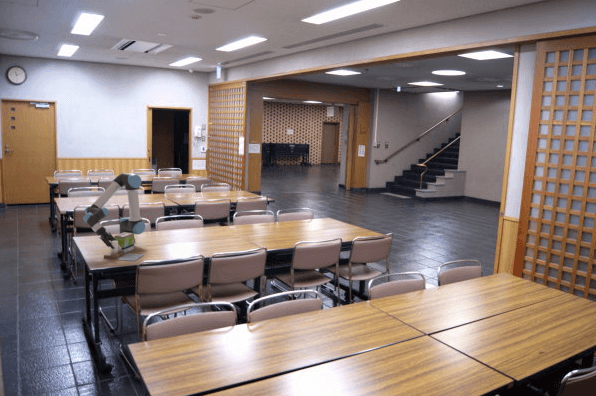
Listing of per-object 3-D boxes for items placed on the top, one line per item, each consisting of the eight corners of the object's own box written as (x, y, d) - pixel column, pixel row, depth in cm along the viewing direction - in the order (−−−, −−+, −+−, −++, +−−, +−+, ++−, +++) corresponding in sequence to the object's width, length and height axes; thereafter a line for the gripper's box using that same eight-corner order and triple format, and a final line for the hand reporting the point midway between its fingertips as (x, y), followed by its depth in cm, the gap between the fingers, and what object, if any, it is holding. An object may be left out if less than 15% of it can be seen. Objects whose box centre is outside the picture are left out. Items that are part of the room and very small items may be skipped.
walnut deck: (112, 253, 384) (112, 250, 384) (124, 254, 383) (124, 251, 383) (103, 258, 370) (103, 255, 370) (116, 259, 369) (116, 256, 369)
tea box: (124, 253, 385) (124, 236, 383) (113, 252, 387) (113, 235, 385) (134, 249, 400) (134, 232, 398) (124, 248, 402) (123, 231, 400)
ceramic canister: (112, 252, 379) (112, 240, 378) (119, 252, 379) (119, 240, 377) (109, 254, 374) (109, 242, 372) (116, 254, 373) (115, 242, 372)
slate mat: (127, 254, 385) (127, 253, 385) (143, 255, 384) (143, 254, 384) (117, 260, 367) (117, 259, 367) (134, 261, 366) (134, 260, 366)
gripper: (101, 229, 384) (121, 250, 385) (89, 234, 366) (110, 256, 367) (108, 224, 383) (127, 244, 384) (96, 228, 365) (116, 250, 366)
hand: (118, 250), depth 376 cm, fingers closed on ceramic canister, 5 cm apart
